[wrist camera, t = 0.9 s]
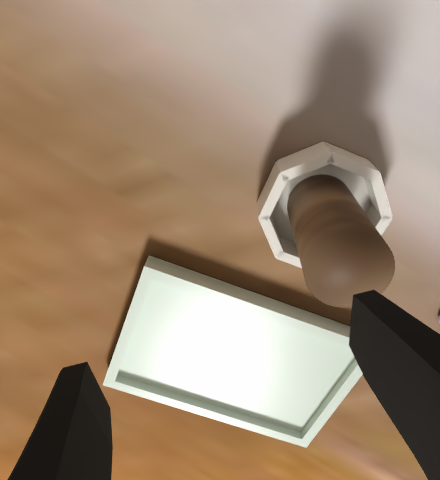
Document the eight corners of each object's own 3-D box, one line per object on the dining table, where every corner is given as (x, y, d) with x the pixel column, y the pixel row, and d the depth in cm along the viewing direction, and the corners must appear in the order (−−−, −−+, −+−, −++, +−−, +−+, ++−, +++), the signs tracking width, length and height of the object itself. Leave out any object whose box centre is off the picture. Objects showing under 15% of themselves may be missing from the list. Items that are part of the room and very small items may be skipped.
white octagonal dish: (398, 171, 25) (413, 185, 22) (340, 265, 28) (348, 285, 26) (291, 127, 24) (296, 137, 21) (244, 229, 27) (244, 246, 25)
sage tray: (375, 335, 30) (381, 349, 29) (303, 432, 36) (306, 447, 34) (148, 255, 28) (144, 266, 27) (108, 370, 33) (102, 384, 32)
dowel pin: (363, 188, 25) (412, 250, 18) (332, 241, 26) (365, 318, 19) (304, 164, 24) (330, 218, 17) (276, 220, 26) (289, 290, 19)
